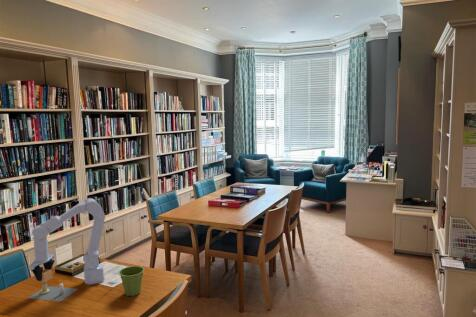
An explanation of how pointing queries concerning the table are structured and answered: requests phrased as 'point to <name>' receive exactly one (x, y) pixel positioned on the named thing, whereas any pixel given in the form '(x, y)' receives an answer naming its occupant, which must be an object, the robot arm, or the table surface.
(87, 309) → the table surface
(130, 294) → the plant pot
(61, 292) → the board
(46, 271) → the collar
